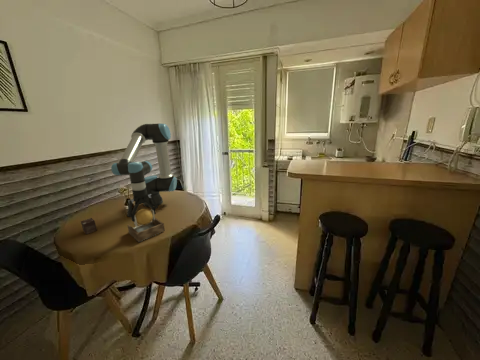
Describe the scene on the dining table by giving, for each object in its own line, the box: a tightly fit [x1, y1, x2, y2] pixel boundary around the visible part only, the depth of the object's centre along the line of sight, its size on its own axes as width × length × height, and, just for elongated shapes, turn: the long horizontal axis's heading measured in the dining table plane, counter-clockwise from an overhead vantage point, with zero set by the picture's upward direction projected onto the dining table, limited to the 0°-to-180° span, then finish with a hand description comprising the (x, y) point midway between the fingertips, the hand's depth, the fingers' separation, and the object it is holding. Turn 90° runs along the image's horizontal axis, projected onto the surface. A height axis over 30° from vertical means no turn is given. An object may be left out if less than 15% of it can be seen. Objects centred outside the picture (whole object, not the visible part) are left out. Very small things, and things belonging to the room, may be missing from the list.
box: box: [80, 217, 98, 235], centre depth 128 cm, size 6×6×7 cm
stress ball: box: [135, 208, 153, 226], centre depth 124 cm, size 10×10×10 cm
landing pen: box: [127, 217, 166, 243], centre depth 126 cm, size 16×16×6 cm
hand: (145, 222), depth 125 cm, fingers closed on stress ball, 10 cm apart
